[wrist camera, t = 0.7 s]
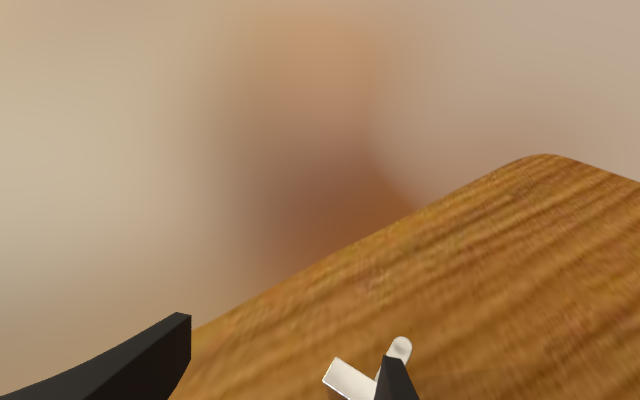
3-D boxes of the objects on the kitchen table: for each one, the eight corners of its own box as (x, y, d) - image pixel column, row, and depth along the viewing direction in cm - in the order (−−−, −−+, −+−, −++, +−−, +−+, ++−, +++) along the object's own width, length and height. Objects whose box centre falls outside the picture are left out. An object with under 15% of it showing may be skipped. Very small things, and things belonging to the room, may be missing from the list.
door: (367, 338, 28) (367, 298, 22) (494, 412, 24) (535, 387, 18) (331, 406, 25) (321, 380, 19) (468, 504, 21) (508, 509, 15)
